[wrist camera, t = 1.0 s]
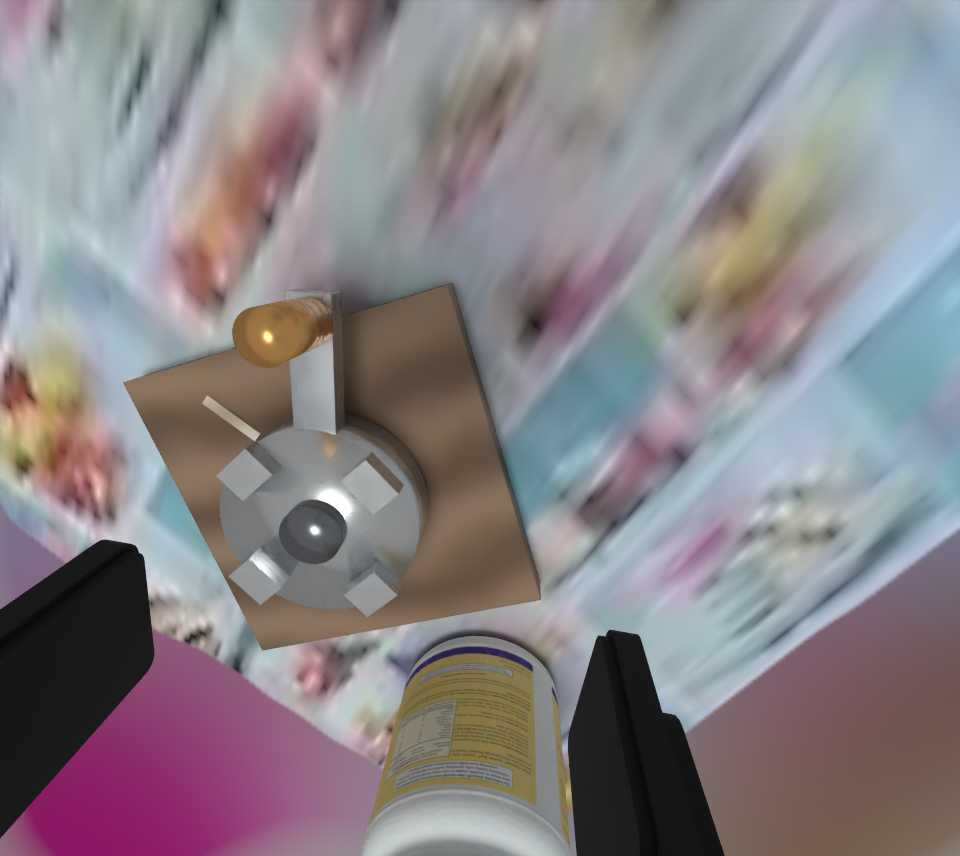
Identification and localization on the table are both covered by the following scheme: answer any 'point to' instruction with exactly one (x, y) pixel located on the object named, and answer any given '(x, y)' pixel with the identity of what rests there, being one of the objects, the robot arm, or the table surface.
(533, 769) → the supplement tub
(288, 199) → the table surface
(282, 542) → the silver and gold piece
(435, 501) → the nut board
